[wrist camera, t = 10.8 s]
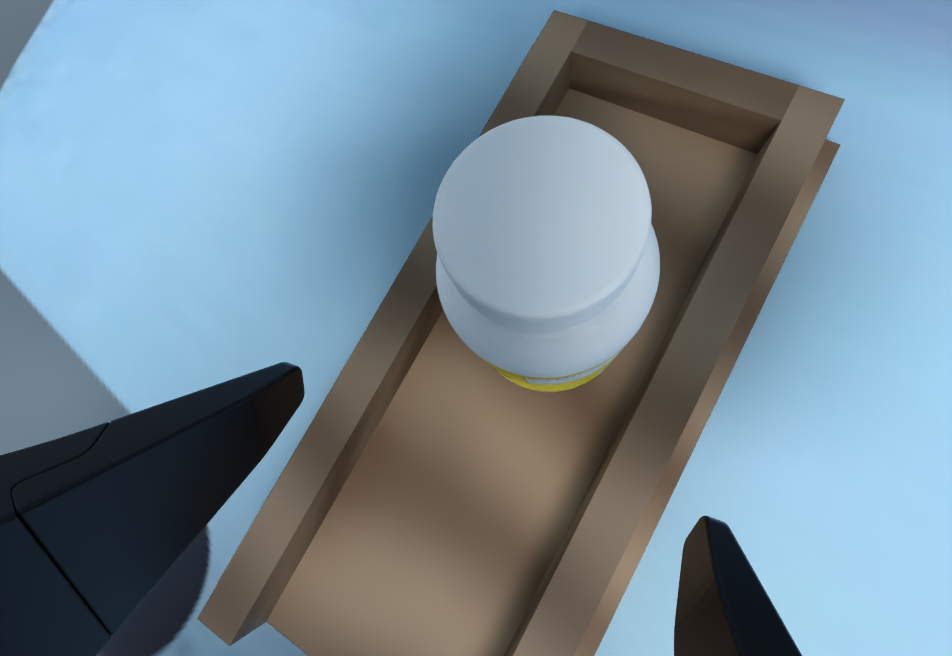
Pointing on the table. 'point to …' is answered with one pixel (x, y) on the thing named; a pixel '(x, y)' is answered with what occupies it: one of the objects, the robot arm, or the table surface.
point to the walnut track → (532, 412)
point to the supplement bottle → (545, 250)
